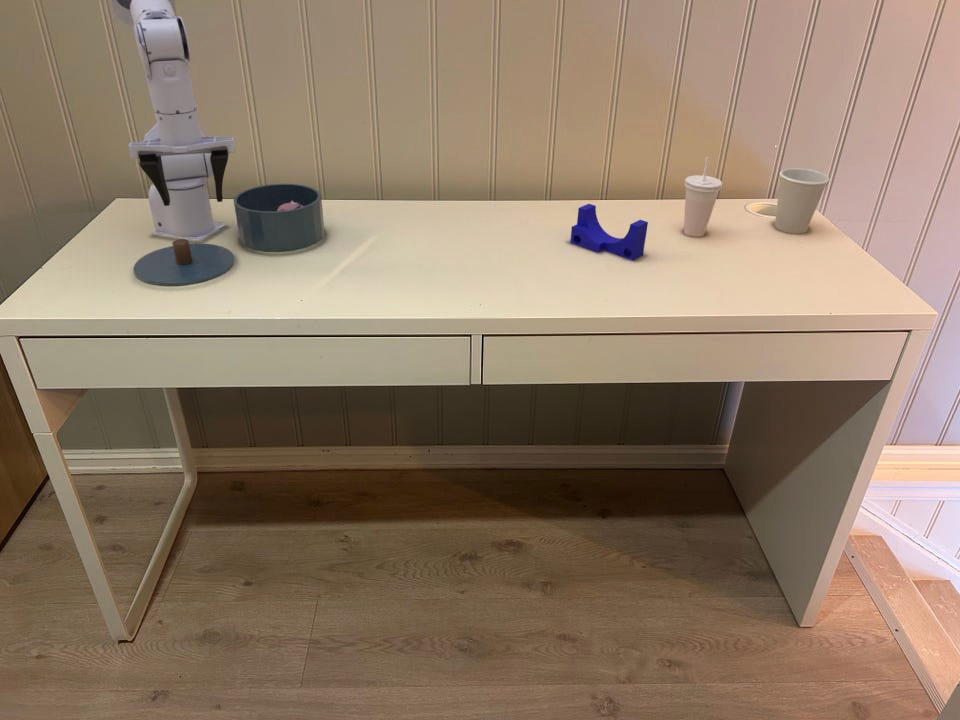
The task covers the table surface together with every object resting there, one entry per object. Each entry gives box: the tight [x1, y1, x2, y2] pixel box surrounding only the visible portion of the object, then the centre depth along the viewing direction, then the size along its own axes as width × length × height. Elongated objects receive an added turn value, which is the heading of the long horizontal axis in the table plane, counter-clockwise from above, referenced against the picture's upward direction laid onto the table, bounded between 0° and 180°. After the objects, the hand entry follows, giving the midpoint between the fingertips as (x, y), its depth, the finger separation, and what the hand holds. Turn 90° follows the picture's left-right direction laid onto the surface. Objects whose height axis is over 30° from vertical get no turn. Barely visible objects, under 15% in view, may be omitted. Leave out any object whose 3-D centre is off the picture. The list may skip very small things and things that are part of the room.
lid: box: [133, 238, 235, 287], centre depth 115 cm, size 15×15×4 cm
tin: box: [233, 183, 326, 253], centre depth 125 cm, size 14×14×7 cm
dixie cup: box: [774, 167, 830, 234], centre depth 133 cm, size 8×8×10 cm
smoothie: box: [683, 156, 723, 238], centre depth 129 cm, size 6×6×14 cm
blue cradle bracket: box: [569, 203, 649, 261], centre depth 124 cm, size 12×4×6 cm, turn 47°
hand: (193, 201), depth 112 cm, fingers open, 7 cm apart
